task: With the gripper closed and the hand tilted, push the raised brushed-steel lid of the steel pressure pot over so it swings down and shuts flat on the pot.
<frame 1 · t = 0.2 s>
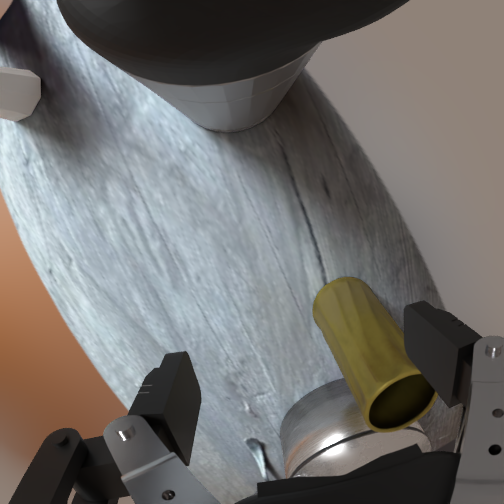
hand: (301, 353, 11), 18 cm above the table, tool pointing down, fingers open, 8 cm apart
steel pot: (344, 424, 35), on the table
vase: (342, 305, 30), on the table
pepper shaker: (24, 96, 23), on the table
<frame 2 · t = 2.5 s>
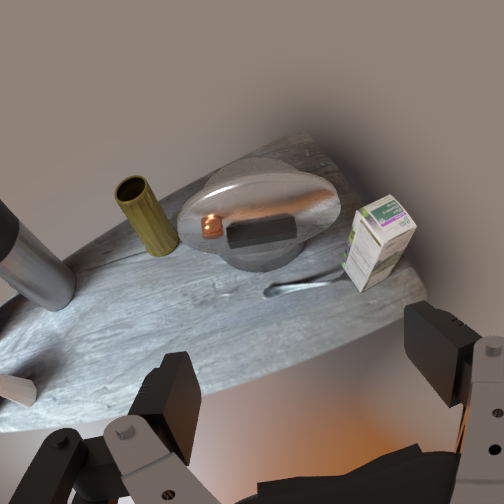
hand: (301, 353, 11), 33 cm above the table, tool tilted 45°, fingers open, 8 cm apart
pot lid: (260, 227, 34), point 17 cm above the table, hinge at 102.0°
steel pot: (259, 229, 54), on the table
vase: (162, 242, 55), on the table
pepper shaker: (28, 393, 43), on the table
syrup box: (365, 272, 48), on the table
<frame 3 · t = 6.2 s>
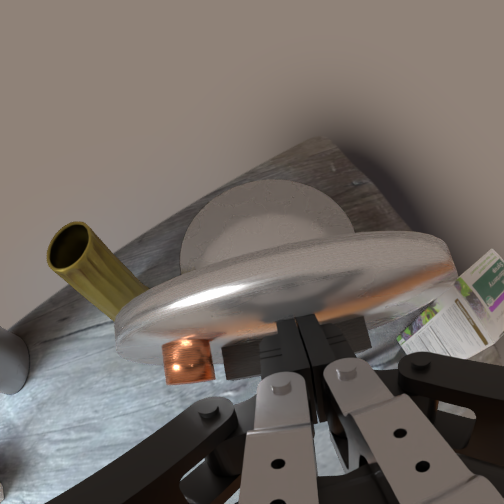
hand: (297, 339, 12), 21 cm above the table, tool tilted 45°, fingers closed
pot lid: (294, 340, 16), point 17 cm above the table, hinge at 97.8°
steel pot: (274, 288, 36), on the table
vase: (134, 308, 37), on the table
syrup box: (427, 346, 30), on the table
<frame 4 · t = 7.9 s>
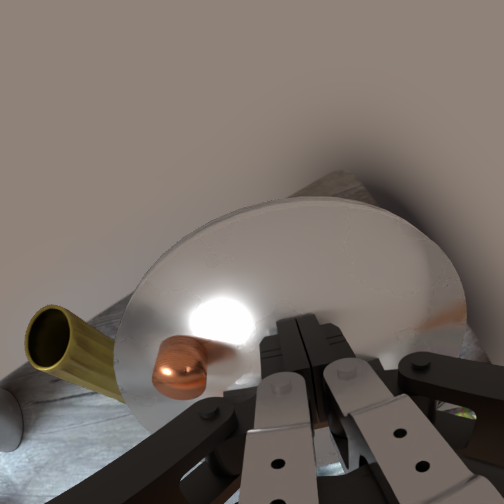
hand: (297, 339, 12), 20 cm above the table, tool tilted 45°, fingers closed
pot lid: (305, 394, 13), point 17 cm above the table, hinge at 56.6°, touching gripper
vase: (132, 377, 32), on the table
syrup box: (453, 423, 24), on the table
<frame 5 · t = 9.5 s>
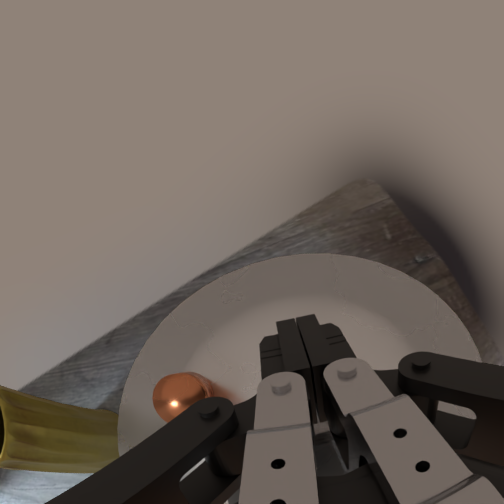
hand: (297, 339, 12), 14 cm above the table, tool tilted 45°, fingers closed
pot lid: (316, 457, 11), point 12 cm above the table, hinge at 14.4°
vase: (106, 442, 23), on the table
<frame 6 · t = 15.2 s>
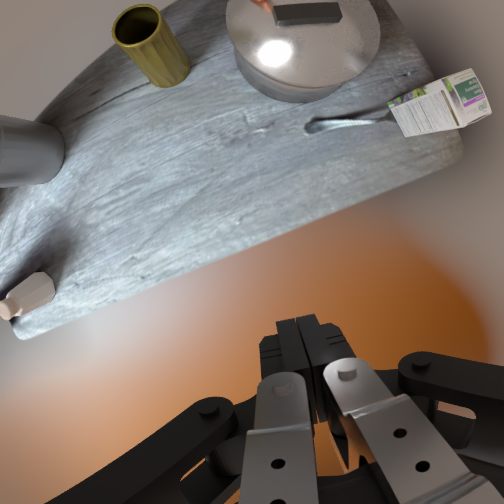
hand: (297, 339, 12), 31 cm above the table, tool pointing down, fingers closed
pot lid: (306, 16, 27), point 10 cm above the table, hinge at -0.1°
steel pot: (293, 50, 37), on the table
vase: (168, 68, 38), on the table
pepper shaker: (43, 286, 44), on the table
syrup box: (409, 114, 39), on the table
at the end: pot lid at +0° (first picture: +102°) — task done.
